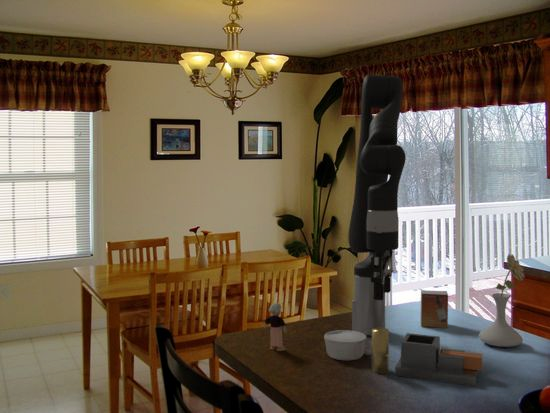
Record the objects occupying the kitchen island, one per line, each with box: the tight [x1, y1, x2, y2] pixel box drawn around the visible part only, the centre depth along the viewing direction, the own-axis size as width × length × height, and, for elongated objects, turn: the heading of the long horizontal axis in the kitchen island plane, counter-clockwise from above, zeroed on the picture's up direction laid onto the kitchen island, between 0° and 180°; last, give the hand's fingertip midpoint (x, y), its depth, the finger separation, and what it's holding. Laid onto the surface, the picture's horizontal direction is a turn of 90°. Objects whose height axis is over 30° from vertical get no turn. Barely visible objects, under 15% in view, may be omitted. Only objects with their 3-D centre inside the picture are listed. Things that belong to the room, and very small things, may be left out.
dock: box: [394, 332, 479, 387], centre depth 136 cm, size 18×12×8 cm, turn 67°
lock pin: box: [440, 350, 483, 372], centre depth 133 cm, size 9×3×3 cm, turn 67°
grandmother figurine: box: [262, 302, 288, 352], centre depth 154 cm, size 8×4×13 cm, turn 65°
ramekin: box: [323, 329, 368, 361], centre depth 149 cm, size 11×11×5 cm
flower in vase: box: [478, 253, 526, 348], centre depth 156 cm, size 13×11×25 cm
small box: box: [419, 289, 449, 329], centre depth 175 cm, size 8×6×10 cm
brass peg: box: [371, 327, 390, 374], centre depth 137 cm, size 4×4×10 cm
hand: (382, 295), depth 136 cm, fingers open, 8 cm apart
